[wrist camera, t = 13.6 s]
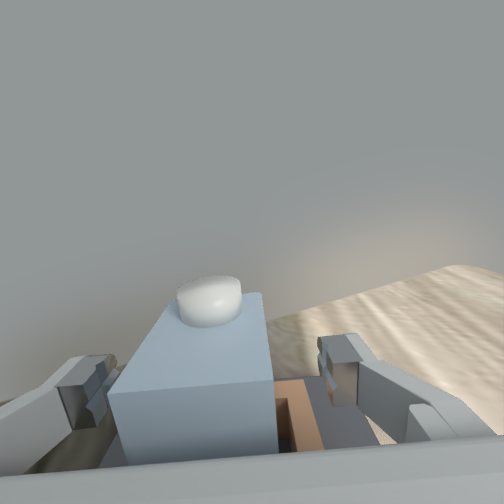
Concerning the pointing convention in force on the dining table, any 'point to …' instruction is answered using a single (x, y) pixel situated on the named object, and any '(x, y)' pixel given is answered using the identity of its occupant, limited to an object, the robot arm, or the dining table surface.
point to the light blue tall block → (199, 380)
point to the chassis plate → (298, 422)
